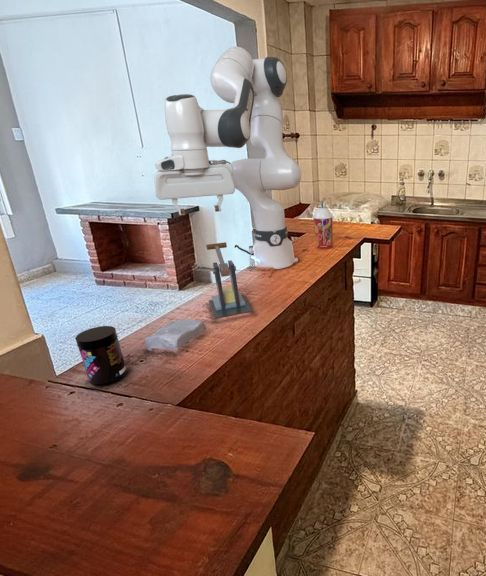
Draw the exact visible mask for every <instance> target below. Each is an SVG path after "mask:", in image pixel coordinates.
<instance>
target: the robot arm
mask: <svg viewBox="0 0 486 576" xmlns="http://www.w3.org/2000/svg"><path fill="white" fill-rule="evenodd" d="M209 82H210V85H211V87H212V89H213V92H214V93H215V94H216V95H217V96H218V98H220V99H221V100H223V101H224V102H226V103H229V104H233V106H232V107H230V108H224V109H204V108H203V107H201V106H200V105H199V101H198V99H197V97H196V96H195V95H193V94H188V93H186V94H185V93H184V94H183V93H181V94H173V95H170V96H169V95H168V96H167V97H166V98H165V99H164V103H163V104H164V106H163V109H164V118H165V125H166V126H165V127H166V131H167V134H168V136H169V138H170V142H171V143H170V152H171V155H169V156H165V157H164V158H162V159H159V160H157V161H155V162H154V166H155V169H156V170H157V171H156V172H155V174H154V190H155V192H154V193H155V197H156V198H157V199H158V200H160V201H165V200H171V202H172V205H173V206H174V207H175V208H176V209H177V212H178V215H179V216H185V215H186V213H185V208H184V207H181V206H180V205H179V204H178V203H179V200H178V199H187V198H189V199H191V198H201V197H213V196H214V197H215V196H216V198H217V199H218V201H217V203H216V204H213V207H214V212H215V213H217V212H222V208H221V207H222V203H223V201H224V196H226V195H227V196H228V195H234V194H235V191H236V190H238V191H239V193H241V194H242V195H243V196H244V197H245V199H246V200H247V202H248V203H249V205H250V208H251V212H252V216H253V221H254V222H253V223H254V230H253V234H254V239H255V240H254V241H253V245H249V246H248V250H246V249H245V248H242V247H240V246H239V245H238V244H235V245H234V247H233V248H234V249H235V248H237V249H238V250H240V251H242V252H244V253H246V254H247V255H249V256H248V258H249V259H248V261H249V265H248V266H249V267H258V268H267V269H268V268H273V269H274V270H282V269H285V268H288V267H291V266H292V265H293V264H295V263H298V262H299V257H296V256H295V253H294V247H293V241H292V240H291V239H290V238H288V236H289V234H288V233H289V231H288V228H287V226H286V218H285V215H286V214H285V208H284V206H283V205H282V204H281V203H280V202H279V201H277V200H275V199H273V198H271V197H270V196H269V194H268V193H267V191H285V190H291V189H294V188H297V187H299V184H300V182H301V180H302V169H301V166H300V165H299V163H298V162H297V161H296V160H294V158H292V157H290V155H289V154H288V153H287V152H286V150H285V146H284V140H283V127H284V125H283V124H284V123H283V121H284V120H283V108H282V103H281V100H280V98H281V97H282V96H283V94H284V91H285V89H286V86H287V82H288V74H287V70H286V66H285V64H284V62H282V61H281V59H280V58H279V57H276V56H265V57H262V58H254V59H253V57H252V55H251V54H250V53H249V52H248V50H246V49H245V48H244V47H240V46H231V47H229V48H227V50H225V51H224V52H223V53H222V54H221V55H220V56H219V58H218V59H217V60H216V62H215V63H214V65H213V67H212V69H211V71H210V76H209ZM249 140H250V143H251V145H252V146H253V148H254V149H256V151H258V152H260V153H262V154H265V157H262V158H261V157H260V158H259V157H257V158H241V159H238V160H237V159H236V160H234V161H232V162H230V161H227V160H226V159H219V160H216V159H213V160H210V159H209V153H208V148H233V149H241V148H243V147H244V146H246V144H247V143H249ZM252 265H253V266H252Z"/></svg>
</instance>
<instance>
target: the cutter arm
mask: <svg viewBox="0 0 486 576" xmlns="http://www.w3.org/2000/svg"><path fill="white" fill-rule="evenodd" d="M205 245H206V246H205V247H206V250H207V251H209V250H215V253H216V256H217V259H218V262H219V263H218V266H219V271H220V277H221V278H223V277H230V271H229V265H228V262H225V260H224V257H223V254H222V251H221V249H226V248H227V247H228V245H227V242H224V241H223V242H217V243H209V244H205Z"/></svg>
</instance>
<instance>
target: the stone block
mask: <svg viewBox="0 0 486 576" xmlns="http://www.w3.org/2000/svg"><path fill="white" fill-rule="evenodd" d="M205 330H206V325H205V323H204V321H202V320H196V319H192V318H190V319H189V318H181V319H176V320H173V321H172V320H171V321H170V322H168V323H167V324H165V325H163V326H161V327H160V328H159V329H158V330H156V332H155V333H152V334H151V335H149V336H146V337H144V345H145V347H146V349H147V351H149V352H152V349H160V350H162V349H163V350H167V351H168V350H169V351H178V350H180V349H181V348H182V347H183V346H185V345H186V344H187V343H190V341H191V340H193V339H194V338H195V337H197V336H198V335H199V334H201V333H202V332H204V331H205Z"/></svg>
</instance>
